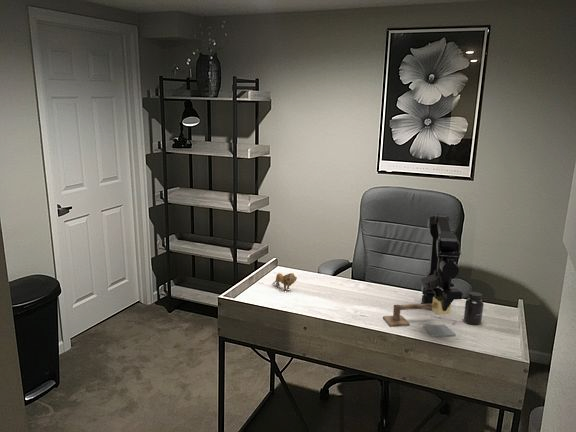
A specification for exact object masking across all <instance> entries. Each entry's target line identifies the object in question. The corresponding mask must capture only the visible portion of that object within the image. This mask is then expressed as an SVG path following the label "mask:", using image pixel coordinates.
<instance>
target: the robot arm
mask: <svg viewBox="0 0 576 432" xmlns="http://www.w3.org/2000/svg"><path fill="white" fill-rule="evenodd" d="M449 216H450V215H448V214H441V213H437V214H435V215H432V216H430V217H429V218H428V219H427V228H428V232H429V235H430V236H431V242H430V243H431V244H430V256H429V268H428V271H427V272H426V274H425V275H424V277H422V278H421V279H420V281H421V288H420V289H421V294H422V295H421V302H420V304H433V296H441V297H442V304H443V311H446V310H447V309H448V307H449V306H450V304H452V303H453V302H454V300H463V298H464V297H463V296H464V293H463V292H462V291H461V290H459V289H458V288H455V283H453V278H454V279H455V277H457V276H458V274H459V273H460V269H459V266H458V265H457V262H456V259H460V257H461V255H462V251H461V250H462V249H461V243H460V241H459V240H458V238H457V235H456V234H454V233H453V232H452V230H451V218H450V217H449Z"/></svg>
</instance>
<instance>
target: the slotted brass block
mask: <svg viewBox="0 0 576 432" xmlns="http://www.w3.org/2000/svg"><path fill="white" fill-rule="evenodd" d="M451 304H452V303H451ZM451 304H450V306H449V307H448V309H447V310H446V311H443V304H442V297H441V296H433V304H432V309H431V311H433V312H435V314H436V315H437V316H439V315H450V314H451V307H452V305H451Z"/></svg>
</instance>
